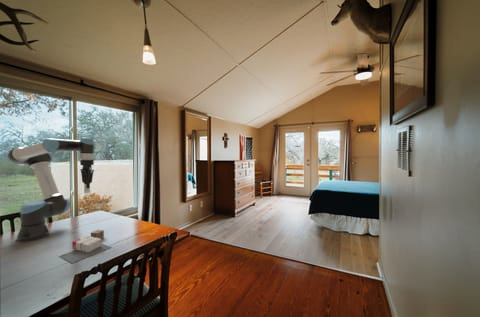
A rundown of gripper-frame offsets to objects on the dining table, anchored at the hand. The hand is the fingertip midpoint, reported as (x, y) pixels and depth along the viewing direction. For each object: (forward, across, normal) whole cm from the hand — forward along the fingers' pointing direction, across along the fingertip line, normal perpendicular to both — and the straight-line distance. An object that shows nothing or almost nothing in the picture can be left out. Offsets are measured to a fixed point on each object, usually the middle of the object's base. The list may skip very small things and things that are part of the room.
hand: (87, 192), depth 140 cm
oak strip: (+29, +22, -14) cm, 40 cm away
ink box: (+26, +19, -13) cm, 35 cm away
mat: (+29, +29, -14) cm, 44 cm away
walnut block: (+30, +15, -1) cm, 33 cm away
